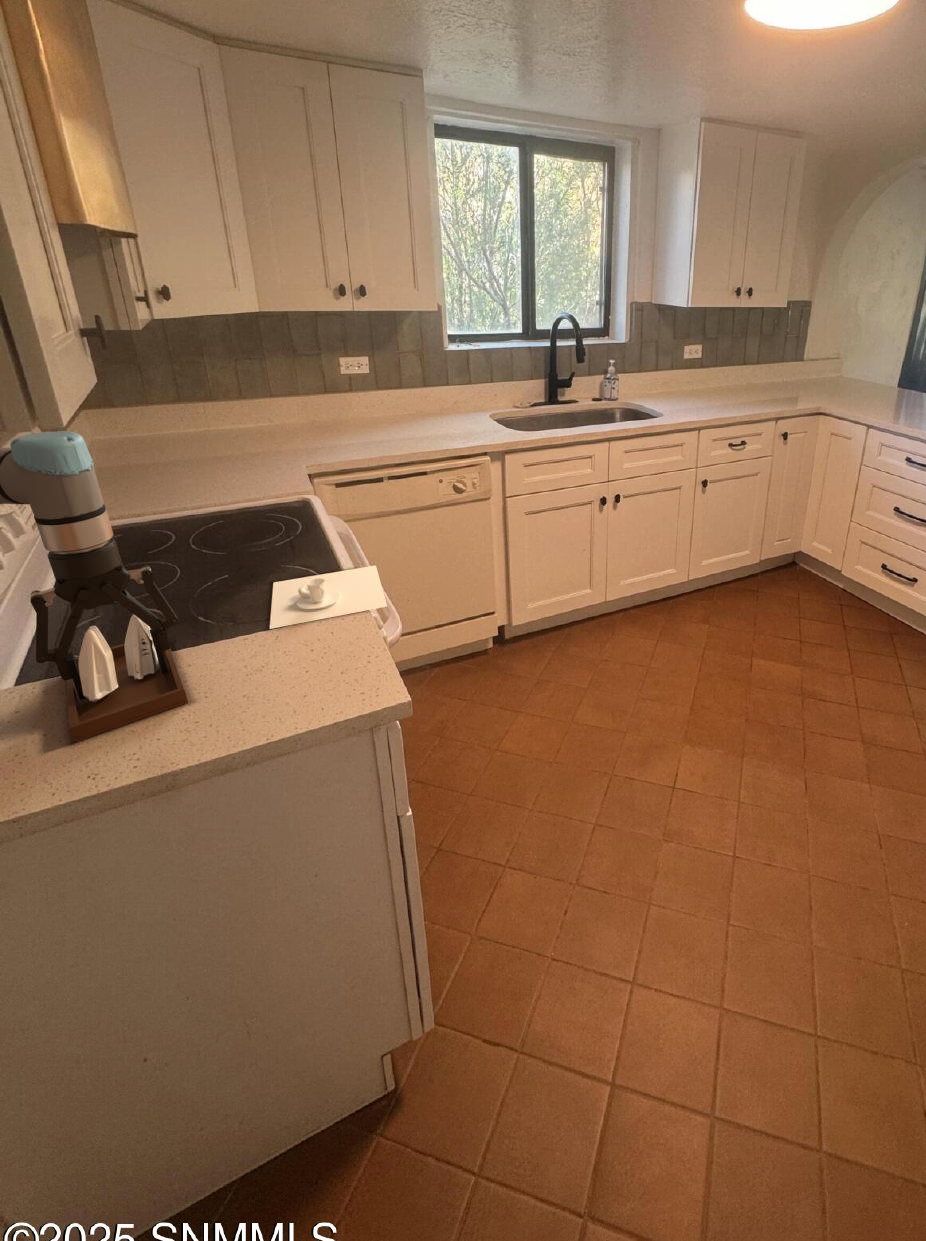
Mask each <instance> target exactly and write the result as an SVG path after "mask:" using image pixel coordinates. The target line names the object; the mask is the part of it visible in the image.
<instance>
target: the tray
mask: <svg viewBox="0 0 926 1241" xmlns="http://www.w3.org/2000/svg"><path fill="white" fill-rule="evenodd" d="M124 644H125V642H124V643H121V644H117V645H114V646H111V647H110V646H109V647H110V649H111V651H112V655H113V660H114V666H115V672H116V678H117V683H118V688H116V689H115V690H114V691H112V692H110V693H109V694H107V695H105V696H104V697H102V698H101V699H99V700H97V701H95V702H93V701H90V700H89V699H88V698H85V699H82V700H80V698H79V696H78V693H77V690H76V687H75V684H74V681H73V679H69V680H66V681H65V682H66V684H65V686H66V700H67V714H68V715H67V716H68V717H67V718H68V729H69V732H70V735H71V738H72V739H73V742H74V743H78V742H80V741H83V740H86V739H89V738H92V737H95V736H98V735H100V734H103V733H106V732H109V731H112V730H115V729H117V728H120V727H123V726H125V725H129V724H133V723H135V722H137V721H141V720H143V719H146V718H149V717H152V716H155V715H157V714H160V713H163V712H166V711H169V710H172V709H175V708H178V707H181V706H183V705H186V704H188V703H189V699H188V696H187V692H186V689H185V686H184V683H183V680H182V677H181V675H180V672H179V669H178V667H177V666H178V665H177V663H176V661H175V658H174V654H173V652H172V648H170V649H169V650H165V651H162V652H163V656H164V659H165V662H166V666H167V669H168V672H167V673H164V674H162V671H161V667H160V664H159V669H158V670H157V671H156V672H155V673H149V674H147V675H144V676H143V678H142V679H138V678H135V679H136V680H135V679H134V676H132V675H130V676H129V675H128V670H127V663H126V656H125V648H124ZM74 657H75V660H76V663H77V665H78V661H79V656H74ZM158 663H159V661H158ZM78 668H79V665H78ZM136 671H137V670H136ZM137 673H139V672H137Z"/></svg>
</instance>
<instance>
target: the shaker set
mask: <svg viewBox="0 0 926 1241" xmlns="http://www.w3.org/2000/svg"><path fill="white" fill-rule="evenodd" d="M151 629H152V628H151V627H149V626H148V625H147V624H145V623H144V622H143V621H142V620H140V619H139V618H138V617H137V616H135V615H134V614H133V613H132V615H131V617H130V619H129V623H128V626H127V630H126V634H125V638H124V643H125V644H124V643H123V644H124V648H125V656H126V663H127V670H128V675H129V676H130V675H132V676H134V679H135V678H138V679H142V678H143V676H144V675H147V674H149V673H155V672H156V671H157V670H158V669H159V663H158V657H157V654H156V650H155V647H154V644H153V640H152V637H151V633H150V630H151ZM78 657H79V661H78V665H79V672H80V678H81V684H82V690H83V695H84V696H85V697H86V698H88V699H89V700H90V701H93V702H95V701H97V700H99V699H101V698H102V697H104V696H105V695H107V694H109V693H110V692H112V691H114V690H115V689H116V688H118V683H117V678H116V672H115V666H114V660H113V655H112V651H111V649H110V645H109V644H108V642H107V640H106V638H105V636H104V635H103V634H102V632H101V631H100V629H99V628H98V627H97V626H96V625H91V626H88V628H87V630H86V631H85V632H84V636H83V638H82V643H81V647H80V651H79V656H78ZM136 670H137V671H136ZM137 672H139V673H137ZM135 680H136V679H135Z"/></svg>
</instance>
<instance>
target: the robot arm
mask: <svg viewBox="0 0 926 1241" xmlns="http://www.w3.org/2000/svg"><path fill="white" fill-rule="evenodd" d="M87 446H88V445H87V443H86V440H85V439H84V438H83V436H82V434H79V433H77V432H75V431H69V430H57V431H41V432H35V433H28V434H25V435H24V434H23V435H21V436H20V435H19V436H17V437H14V439H12V440H11V442H10V447H0V505H29V506H30V509H31V512H32V514H33V519H34V521H35V524H36V527H37V530H38V533H39V536H40V539H41V542H42V544H43V548H44V549H45V550H46V551H48V552H47V559H48V562H49V566H50V568H51V570H52V573H53V576H54V579H55V584H54V586H53V587H52V588H49V589H45V590H37V589H35V590H33V591H31V592H30V598H29V600H30V604H31V606H32V608H33V610H34V612H35V619H36V620H35V628H36V629H35V661H36V663H38V664H44V663H46V662H52V663H54V664H55V665H56V667H57V670H58V673H59V675H60V678H61V679H62V681H64V682H66V680H69V679H73V681H74V684H75V687H76V690H77V693H78V696H79V698H80V700H82V699H85V698H86V697H85V696H84V695H83V690H82V684H81V678H80V672H79V668H78V665H77V663H76V660H75V657H76V656H75V653H74V651H70V647H71V644H72V642H73V640H74V636H75V633H76V630H77V627H78V625H79V623H80V620H81V618H82V617H83V616H82V615H83V612H84V610H86V611H89V610H93V609H96V608H98V607H100V606H109V605H114V604H115V602H116V603H117V604H119V605H120V606H121V607H123V608H125V609H126V610H128V612H130V613H131V614H132V615H133V614H134V615H135V616H137V617H138V618H139V619H140V620H142V621H143V622H144V623H145V624H147V625H148V626H149V627H150V629H151V630H150V633H151V637H152V640H153V644H154V647H155V650H156V654H157V657H158V661H159V664H160V667H161V671H162V674H164V673H167V672H168V669H167V666H166V662H165V659H164V656H163V652H162V651H165V650H169V649H171V644H170V639H169V636H168V629H170V628H171V627H174V626H177V625H178V624H179V620H178V616H177V614H176V612H175V611H174V609H173V608H172V606H171V605H170V603H169V602H168V601H167V599H166V598H165V596H164V594H163V593H162V592H161V590H160V588H159V587H158V586H157V584H156V583H155V581H154V573H153V570H152V568H151V567H150V565H143V566H141V568H136V569H127V568H126V567H125V566H124V564H123V561H122V558H121V554H120V551H119V548H118V544H117V541H116V540H115V539H113V537H114V531H113V528H112V525H111V524H112V523H111V521H110V517H109V514H108V511H107V508H106V505H105V502H104V498H103V494H102V491H101V487H100V484H99V480H98V477H97V474H96V469H95V463H94V462H95V461H94V459H93V458H92V457H91V453H90V452H89V449H88V447H87ZM130 580H135V582H136V583H137V584H138V585H143V586H144V588H145V591H146V592H147V593H148V595H149V597H150V598H151V599H152V601H153V603H154V604H155V605H156V607H157V608H158V610H159V612H160V613H161V614H162V615H163V617H162V618H161V619H160V617H158V616H157V615H155V613H153V612H152V611H151V610H149V609H148V608H147V607H146V606H145V605H143V604H142V603H141V602H140V601H138V600H137V599H136V598H134V597H133V596H132V595H131V593H129V591H127V590H126V588H127V586H128V584H129V581H130ZM56 597H58V598H60V599H62V600H63V601H65V602H67V603H69V606H68V611H67V614H66V617H65V619H64V622H63V625H62V628H61V631H60V634H59V636H58V638H57V642H56V644H55V648H49V607H51V606H52V605H53V604H54V599H55V598H56ZM69 651H70V652H69Z"/></svg>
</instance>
